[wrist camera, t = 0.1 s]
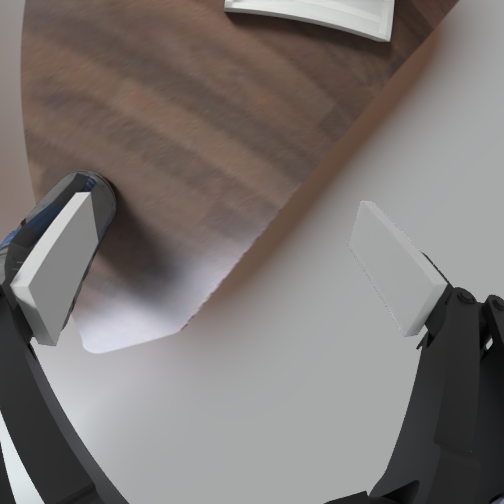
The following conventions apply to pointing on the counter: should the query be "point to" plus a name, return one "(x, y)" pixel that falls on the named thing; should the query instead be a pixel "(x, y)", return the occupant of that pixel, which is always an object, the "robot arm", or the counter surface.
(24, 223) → the grey blue grenade canister
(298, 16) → the white tray
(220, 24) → the counter surface
